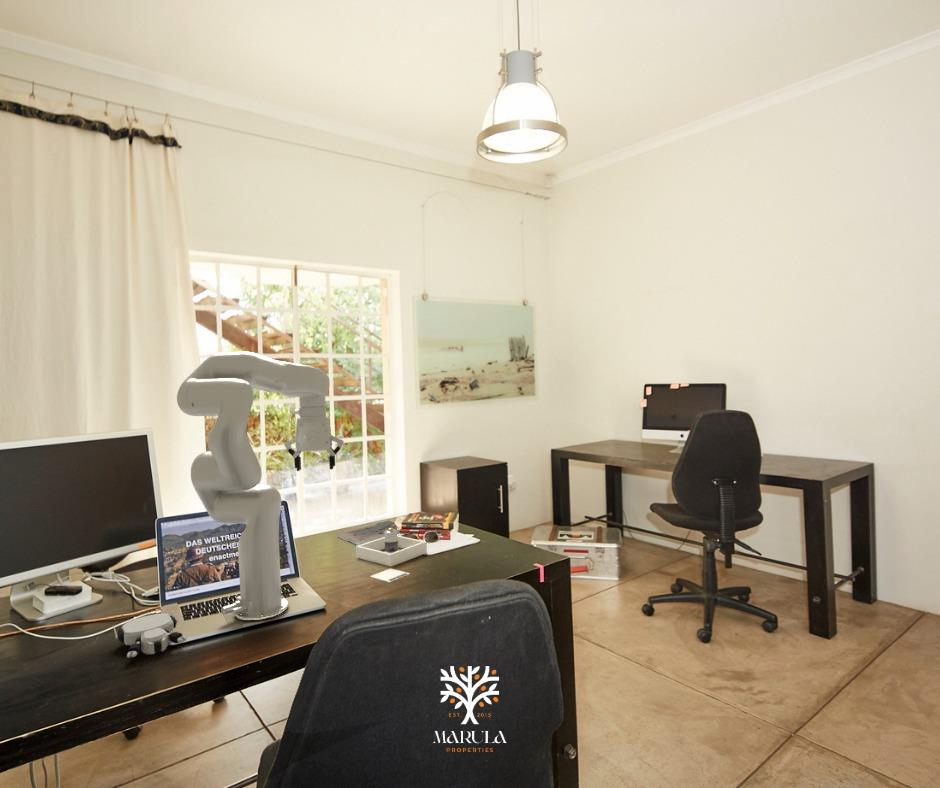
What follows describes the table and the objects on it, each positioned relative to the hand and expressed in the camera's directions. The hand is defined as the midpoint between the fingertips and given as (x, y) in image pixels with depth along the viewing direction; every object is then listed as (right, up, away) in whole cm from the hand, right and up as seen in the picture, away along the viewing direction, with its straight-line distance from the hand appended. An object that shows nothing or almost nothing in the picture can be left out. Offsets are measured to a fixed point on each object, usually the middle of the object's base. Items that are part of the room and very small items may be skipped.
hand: (315, 469), depth 174 cm
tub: (+22, -29, +8) cm, 37 cm away
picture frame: (+12, -29, +36) cm, 48 cm away
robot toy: (-24, -33, -47) cm, 62 cm away
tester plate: (+24, -30, -10) cm, 39 cm away
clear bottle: (+22, -28, +8) cm, 37 cm away
